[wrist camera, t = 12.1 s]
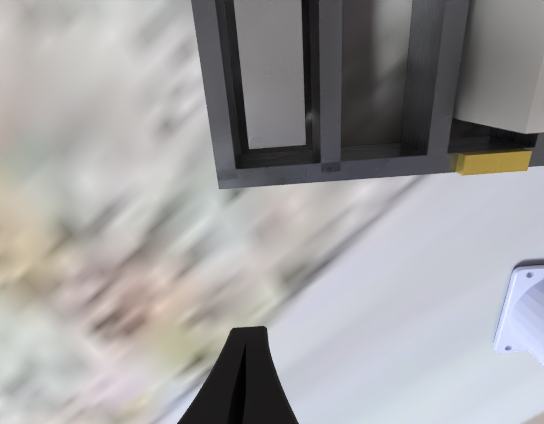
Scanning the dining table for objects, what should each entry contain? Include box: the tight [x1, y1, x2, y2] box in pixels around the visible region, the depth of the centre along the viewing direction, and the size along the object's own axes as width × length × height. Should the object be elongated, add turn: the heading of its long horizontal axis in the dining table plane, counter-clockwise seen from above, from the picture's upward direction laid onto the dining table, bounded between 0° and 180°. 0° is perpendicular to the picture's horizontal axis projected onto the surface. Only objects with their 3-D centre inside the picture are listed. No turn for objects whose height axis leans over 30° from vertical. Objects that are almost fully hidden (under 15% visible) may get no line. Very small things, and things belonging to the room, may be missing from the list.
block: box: [452, 0, 544, 134], centre depth 13 cm, size 2×10×7 cm, turn 5°
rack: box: [191, 0, 544, 189], centre depth 14 cm, size 17×15×6 cm
